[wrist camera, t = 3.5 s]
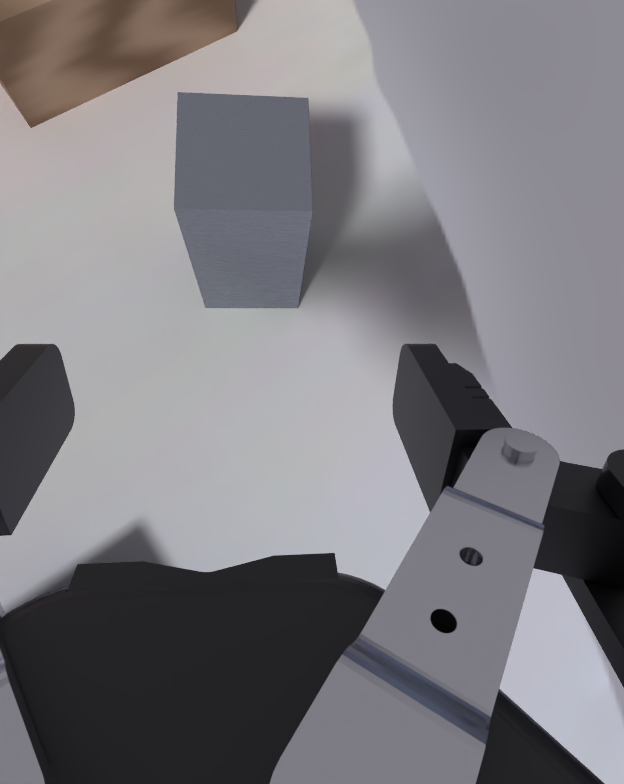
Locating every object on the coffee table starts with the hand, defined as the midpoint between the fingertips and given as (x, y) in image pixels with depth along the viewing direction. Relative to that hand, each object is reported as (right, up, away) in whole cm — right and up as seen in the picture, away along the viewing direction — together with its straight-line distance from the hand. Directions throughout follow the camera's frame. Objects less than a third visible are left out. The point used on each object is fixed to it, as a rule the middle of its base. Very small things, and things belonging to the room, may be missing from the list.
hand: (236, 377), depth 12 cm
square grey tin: (-2, +7, +15) cm, 17 cm away
